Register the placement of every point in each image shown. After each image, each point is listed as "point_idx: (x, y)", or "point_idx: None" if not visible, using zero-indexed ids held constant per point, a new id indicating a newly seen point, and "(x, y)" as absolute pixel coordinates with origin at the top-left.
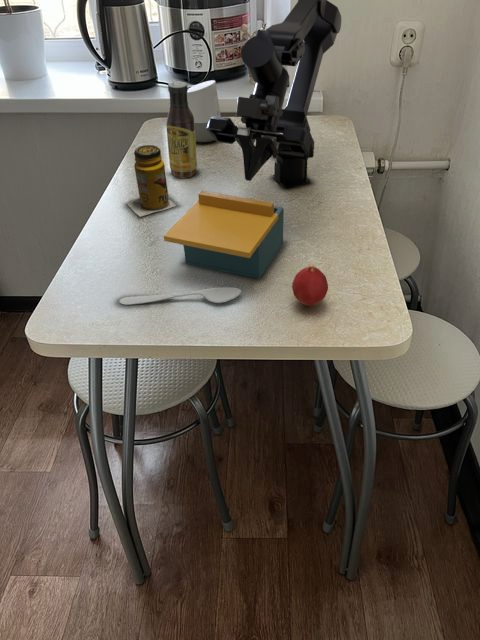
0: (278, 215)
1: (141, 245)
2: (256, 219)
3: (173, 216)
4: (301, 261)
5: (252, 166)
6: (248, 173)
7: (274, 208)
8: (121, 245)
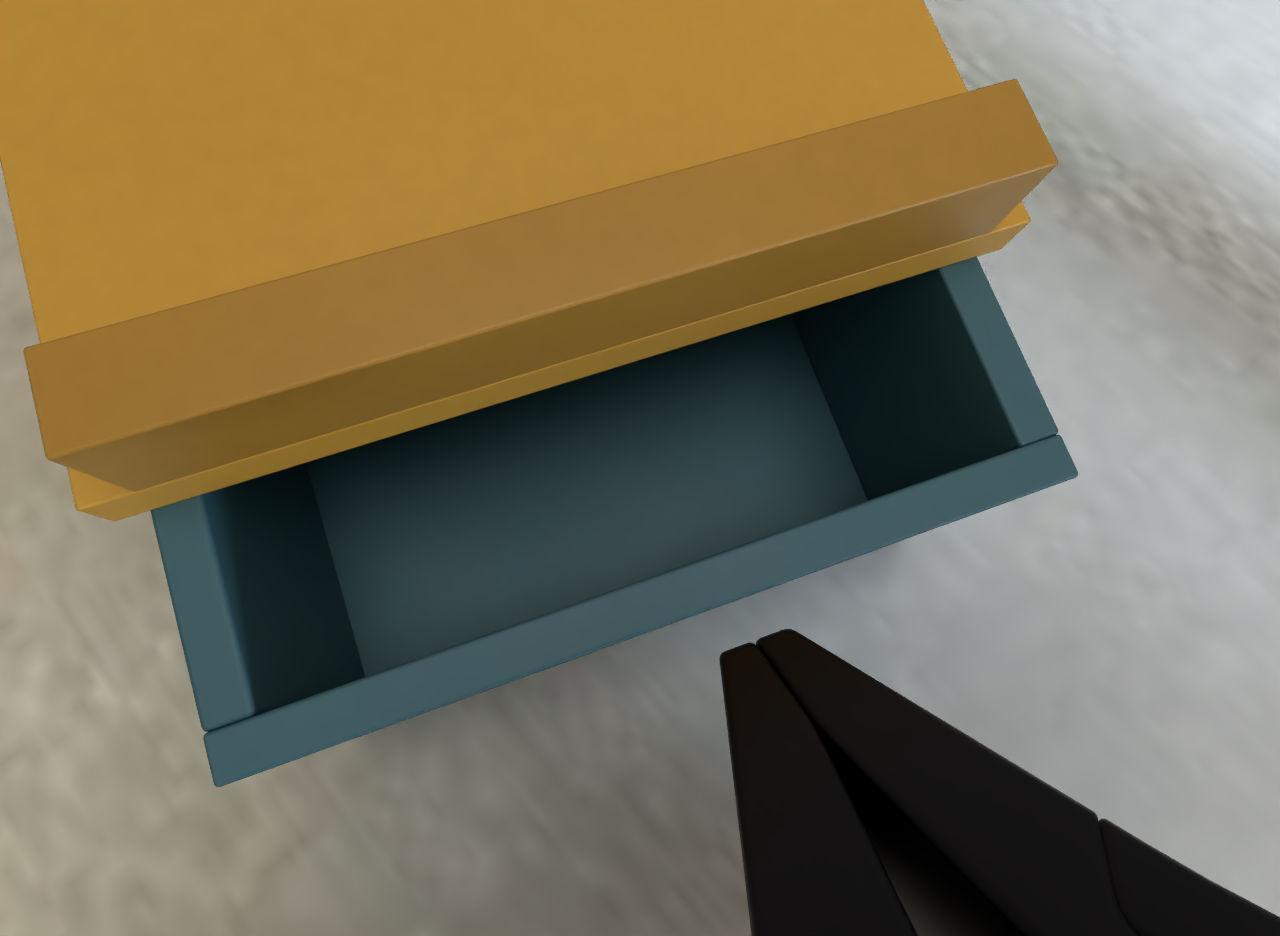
0: (177, 607)
1: (1092, 123)
2: (230, 258)
3: (1269, 499)
4: (82, 622)
5: (790, 818)
6: (777, 692)
7: (305, 699)
8: (1173, 59)
